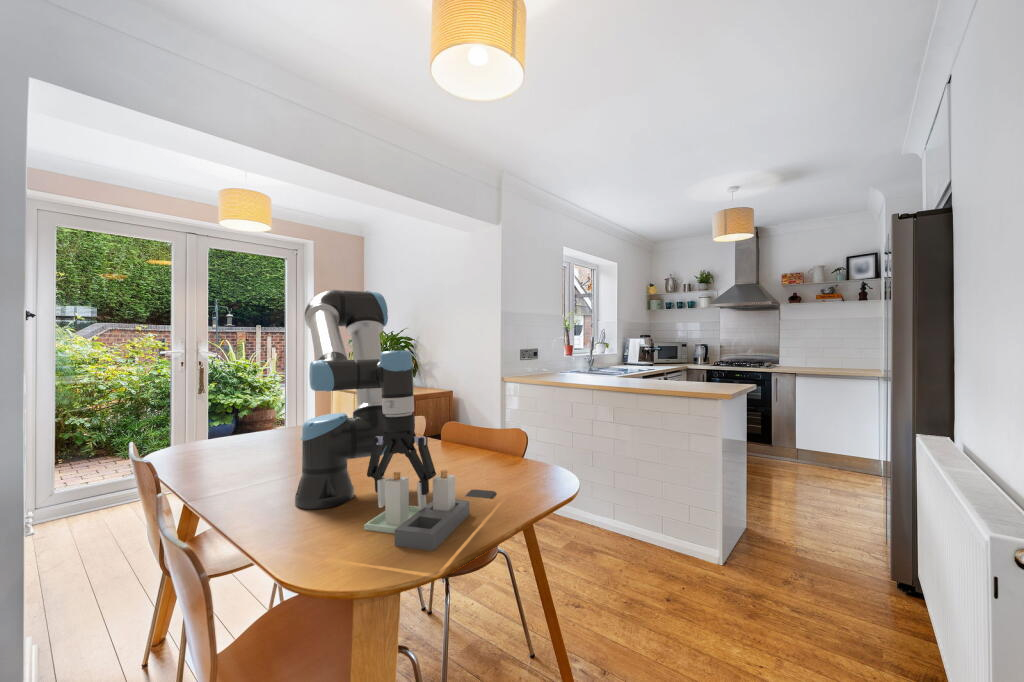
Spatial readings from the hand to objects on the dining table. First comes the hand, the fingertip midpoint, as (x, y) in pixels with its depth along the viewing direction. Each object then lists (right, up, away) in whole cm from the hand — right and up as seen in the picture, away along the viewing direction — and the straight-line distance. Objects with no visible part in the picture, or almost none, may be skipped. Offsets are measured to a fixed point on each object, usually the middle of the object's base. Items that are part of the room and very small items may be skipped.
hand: (402, 506), depth 106 cm
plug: (-1, -3, 0) cm, 4 cm away
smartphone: (+16, -5, +15) cm, 22 cm away
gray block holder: (+9, -4, -5) cm, 11 cm away
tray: (-1, -4, 0) cm, 4 cm away
